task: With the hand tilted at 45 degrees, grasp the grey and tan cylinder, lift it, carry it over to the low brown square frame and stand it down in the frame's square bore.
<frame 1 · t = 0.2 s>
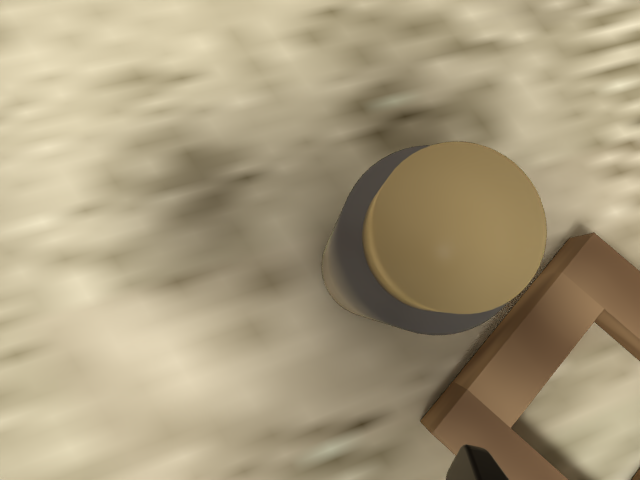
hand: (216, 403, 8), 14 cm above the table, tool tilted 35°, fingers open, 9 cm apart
brown square frame: (590, 409, 22), on the table
grey and tan cylinder: (371, 266, 23), on the table
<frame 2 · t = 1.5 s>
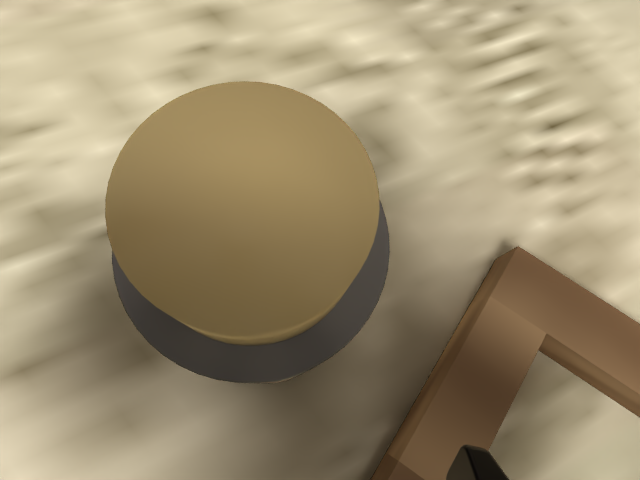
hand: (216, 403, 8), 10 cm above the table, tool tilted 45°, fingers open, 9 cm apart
brown square frame: (559, 463, 18), on the table
grey and tan cylinder: (270, 319, 19), on the table
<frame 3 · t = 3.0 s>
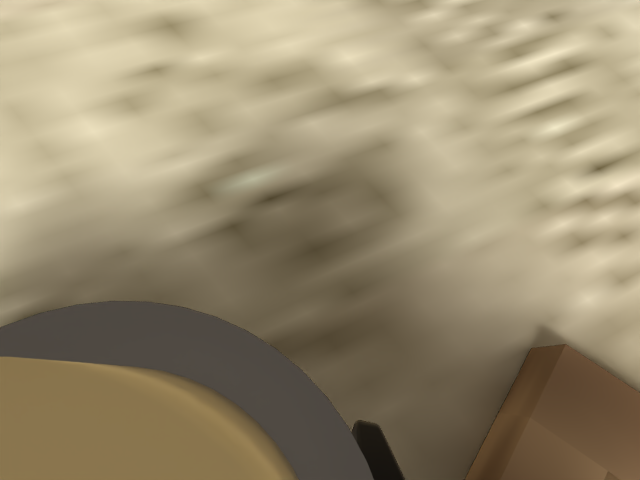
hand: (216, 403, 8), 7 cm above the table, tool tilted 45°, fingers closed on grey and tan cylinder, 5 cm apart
grey and tan cylinder: (234, 438, 14), on the table, touching gripper
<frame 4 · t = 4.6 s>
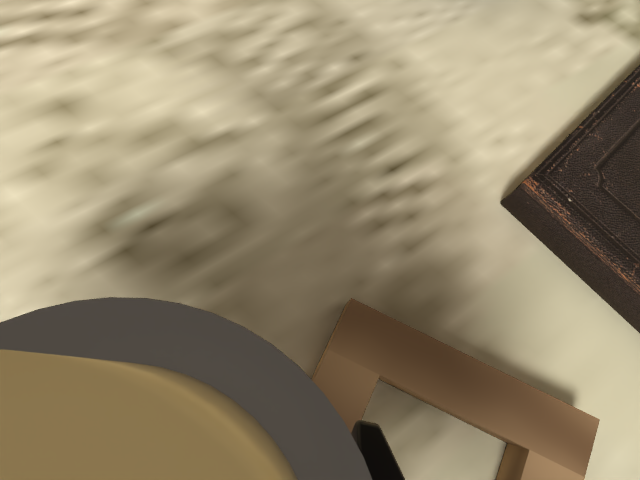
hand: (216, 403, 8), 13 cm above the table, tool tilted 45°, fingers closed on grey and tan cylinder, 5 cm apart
grey and tan cylinder: (233, 437, 14), point 7 cm above the table, touching gripper
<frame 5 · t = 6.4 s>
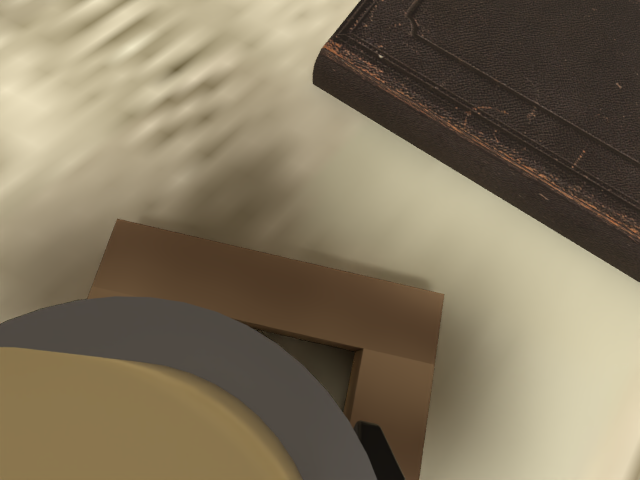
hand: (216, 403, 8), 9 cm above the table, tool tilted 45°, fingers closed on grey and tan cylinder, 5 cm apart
brown square frame: (242, 427, 16), on the table
grey and tan cylinder: (234, 437, 14), point 2 cm above the table, touching gripper
hardcover book: (590, 98, 23), on the table
when the fingers open (9 cm above the table, at t = 6.4 s): grey and tan cylinder drops 2 cm, resting in brown square frame.
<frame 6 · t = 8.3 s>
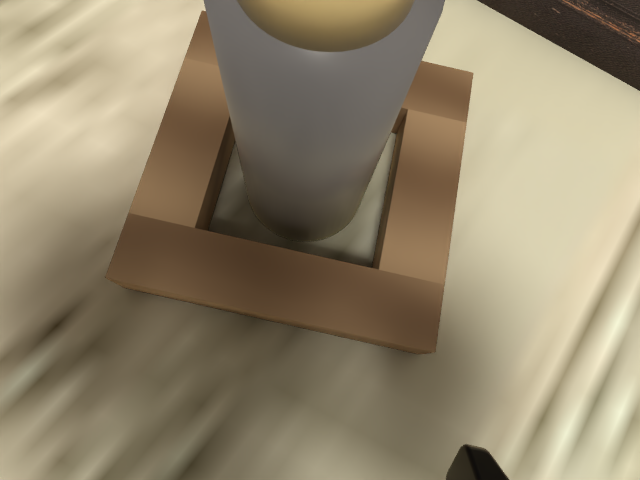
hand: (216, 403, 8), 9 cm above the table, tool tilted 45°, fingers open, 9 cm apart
brown square frame: (305, 185, 20), on the table
grey and tan cylinder: (305, 186, 20), resting in brown square frame
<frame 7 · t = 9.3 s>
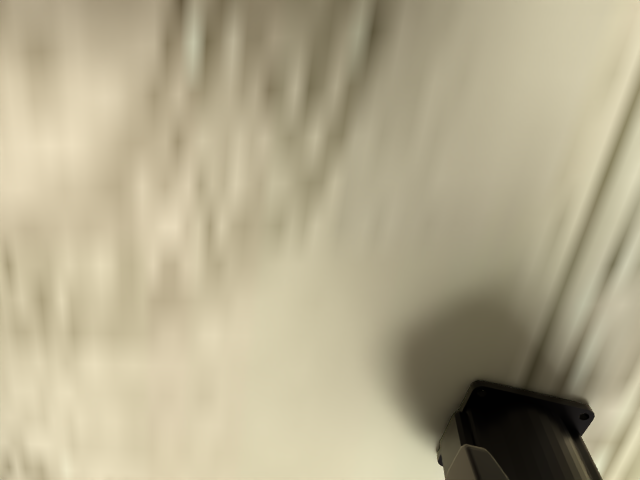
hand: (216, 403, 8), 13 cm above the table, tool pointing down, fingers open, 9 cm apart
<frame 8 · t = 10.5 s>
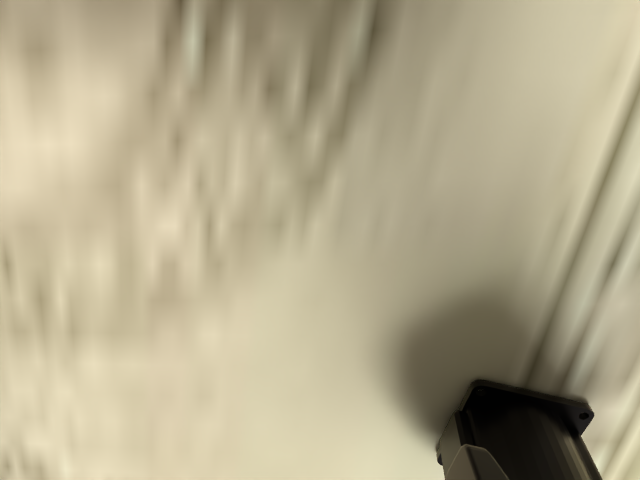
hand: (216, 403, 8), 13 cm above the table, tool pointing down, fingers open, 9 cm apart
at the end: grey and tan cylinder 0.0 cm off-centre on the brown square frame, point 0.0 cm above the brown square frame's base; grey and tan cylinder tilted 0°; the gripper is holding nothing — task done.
